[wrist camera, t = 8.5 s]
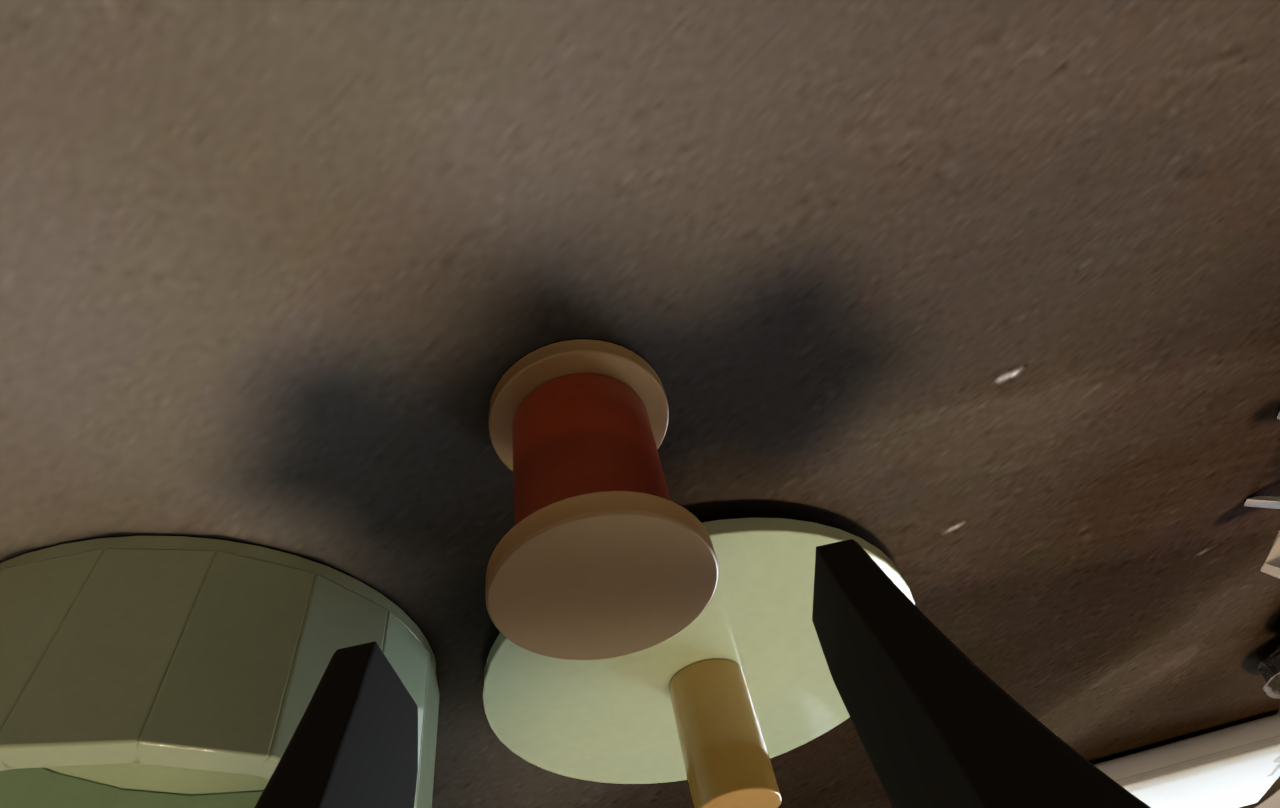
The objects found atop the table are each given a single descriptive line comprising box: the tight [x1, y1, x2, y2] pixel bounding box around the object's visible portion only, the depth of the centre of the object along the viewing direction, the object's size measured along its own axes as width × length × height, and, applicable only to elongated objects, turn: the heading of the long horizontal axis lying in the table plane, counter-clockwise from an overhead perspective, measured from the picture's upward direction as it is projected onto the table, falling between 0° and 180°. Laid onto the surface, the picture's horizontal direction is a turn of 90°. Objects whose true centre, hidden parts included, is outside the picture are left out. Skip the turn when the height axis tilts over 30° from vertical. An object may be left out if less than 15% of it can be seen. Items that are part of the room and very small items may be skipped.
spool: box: [485, 339, 719, 660], centre depth 14 cm, size 4×4×5 cm
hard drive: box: [1094, 713, 1280, 808], centre depth 36 cm, size 2×8×12 cm
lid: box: [482, 517, 915, 808], centre depth 21 cm, size 14×14×5 cm
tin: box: [0, 535, 440, 808], centre depth 18 cm, size 13×13×5 cm
